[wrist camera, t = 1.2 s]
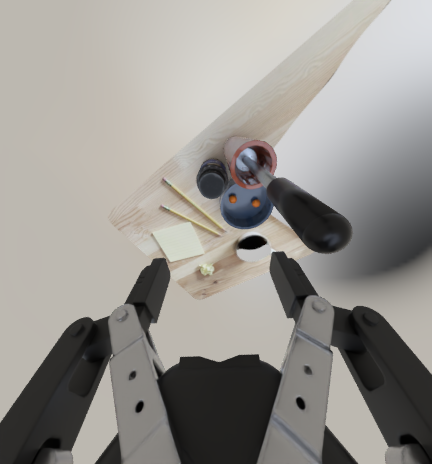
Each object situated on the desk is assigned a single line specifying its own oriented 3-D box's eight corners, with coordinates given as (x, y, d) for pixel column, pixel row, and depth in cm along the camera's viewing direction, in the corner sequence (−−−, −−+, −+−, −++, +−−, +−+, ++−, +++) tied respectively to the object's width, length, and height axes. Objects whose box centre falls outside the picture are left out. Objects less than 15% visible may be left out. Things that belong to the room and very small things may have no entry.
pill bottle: (220, 153, 34) (222, 161, 25) (229, 180, 37) (233, 196, 28) (195, 164, 35) (188, 176, 26) (206, 189, 38) (202, 207, 29)
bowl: (210, 193, 39) (209, 200, 35) (254, 163, 35) (259, 167, 31) (235, 227, 44) (237, 237, 40) (275, 204, 41) (282, 212, 36)
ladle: (230, 156, 22) (278, 236, 5) (249, 141, 21) (387, 182, 4) (240, 174, 23) (307, 286, 6) (259, 161, 22) (393, 253, 5)
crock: (218, 146, 33) (221, 160, 17) (238, 130, 32) (264, 128, 15) (231, 166, 36) (244, 197, 19) (250, 152, 34) (283, 172, 17)
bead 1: (227, 197, 39) (227, 199, 37) (233, 192, 38) (234, 195, 37) (231, 203, 40) (232, 206, 38) (238, 198, 39) (239, 201, 38)
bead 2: (250, 200, 40) (251, 203, 38) (257, 196, 39) (258, 199, 37) (253, 206, 40) (255, 210, 39) (260, 202, 40) (262, 205, 38)
